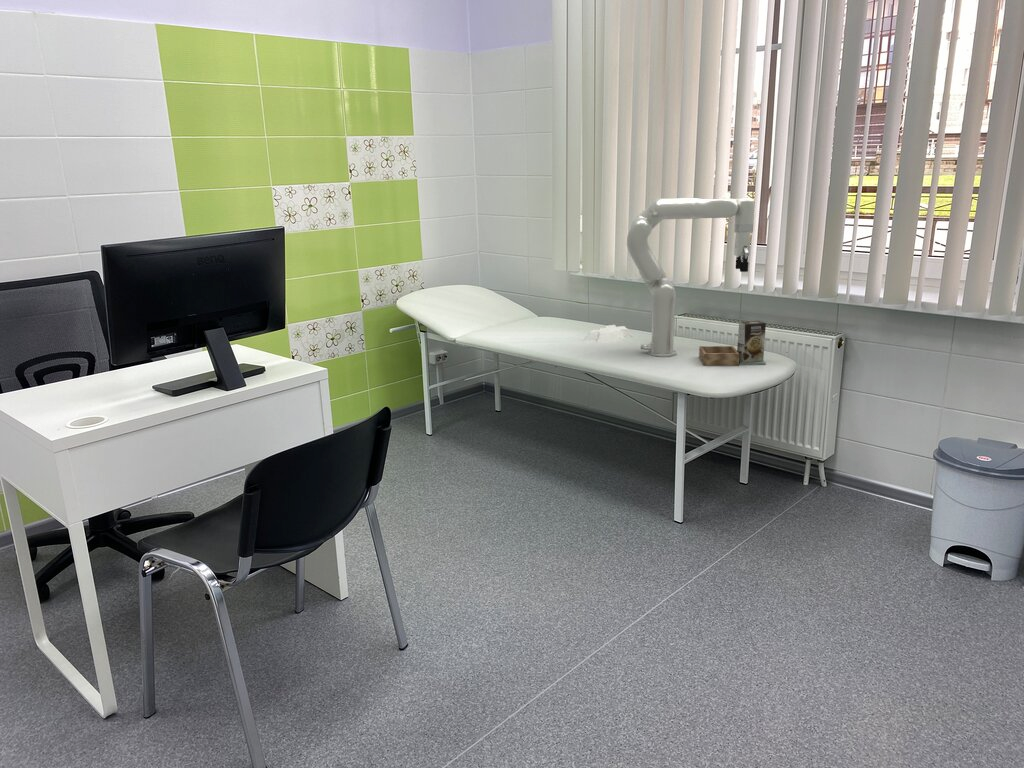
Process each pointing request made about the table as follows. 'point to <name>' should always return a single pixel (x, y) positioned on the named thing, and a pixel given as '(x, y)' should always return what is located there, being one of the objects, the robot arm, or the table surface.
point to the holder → (718, 356)
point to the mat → (752, 363)
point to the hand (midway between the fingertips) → (741, 270)
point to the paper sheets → (608, 334)
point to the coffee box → (751, 341)
